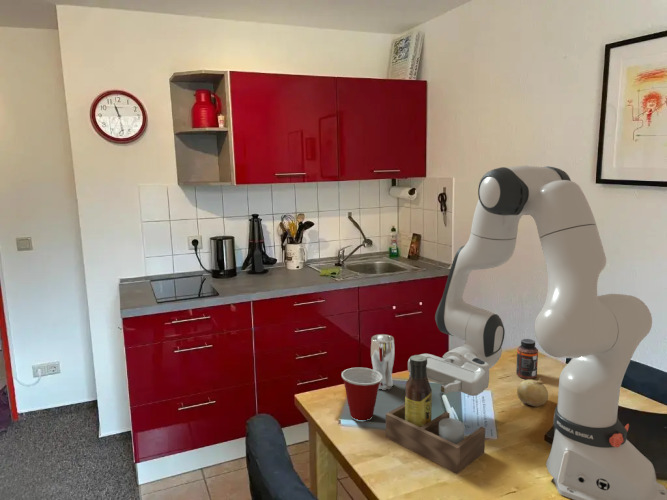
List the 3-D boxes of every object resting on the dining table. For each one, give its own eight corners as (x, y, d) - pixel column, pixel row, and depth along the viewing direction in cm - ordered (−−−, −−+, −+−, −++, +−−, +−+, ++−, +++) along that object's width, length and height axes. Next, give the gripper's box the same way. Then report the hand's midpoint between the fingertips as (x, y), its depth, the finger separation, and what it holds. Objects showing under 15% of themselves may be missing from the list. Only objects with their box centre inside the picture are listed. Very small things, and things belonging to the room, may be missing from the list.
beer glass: (398, 383, 150) (398, 336, 148) (388, 393, 145) (388, 344, 142) (377, 378, 154) (377, 332, 151) (367, 387, 148) (366, 339, 146)
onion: (530, 412, 132) (532, 387, 131) (510, 399, 140) (511, 375, 138) (554, 406, 135) (555, 382, 134) (532, 393, 142) (533, 370, 141)
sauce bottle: (431, 445, 116) (432, 365, 113) (404, 442, 118) (404, 363, 114) (431, 430, 123) (432, 353, 119) (405, 427, 124) (406, 352, 120)
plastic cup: (391, 419, 130) (391, 376, 128) (356, 431, 125) (356, 387, 123) (367, 402, 139) (367, 362, 137) (334, 413, 134) (333, 371, 132)
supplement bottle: (539, 379, 151) (542, 344, 149) (520, 380, 151) (521, 344, 149) (532, 371, 157) (534, 337, 155) (513, 371, 157) (515, 337, 155)
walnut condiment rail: (484, 456, 113) (485, 428, 112) (456, 478, 106) (457, 448, 105) (414, 423, 128) (414, 398, 127) (385, 440, 121) (385, 414, 119)
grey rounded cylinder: (468, 452, 113) (469, 424, 112) (454, 463, 110) (455, 434, 108) (447, 443, 117) (448, 415, 116) (433, 452, 114) (433, 424, 112)
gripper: (426, 344, 136) (393, 359, 127) (494, 366, 122) (463, 384, 112) (426, 365, 138) (393, 382, 128) (493, 390, 123) (462, 410, 114)
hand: (426, 383), depth 120 cm, fingers open, 8 cm apart
